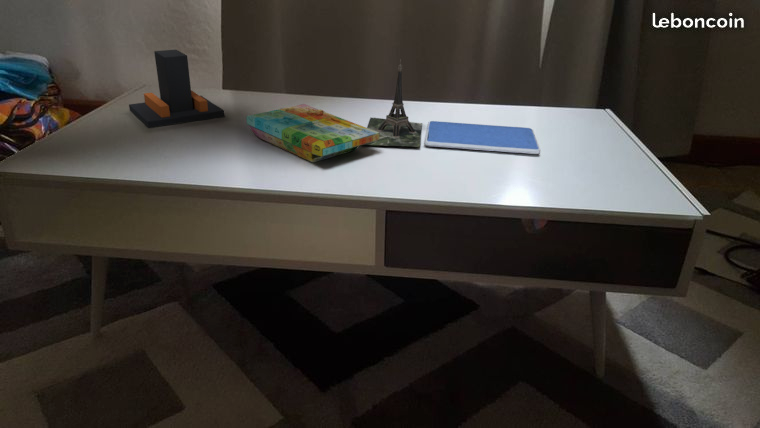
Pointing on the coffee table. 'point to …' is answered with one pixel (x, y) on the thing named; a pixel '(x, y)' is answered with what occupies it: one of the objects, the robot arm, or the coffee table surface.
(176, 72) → the black block
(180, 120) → the base pad
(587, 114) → the coffee table surface
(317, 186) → the coffee table surface
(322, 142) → the puzzle game
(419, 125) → the eiffel tower figurine
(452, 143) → the tablet
